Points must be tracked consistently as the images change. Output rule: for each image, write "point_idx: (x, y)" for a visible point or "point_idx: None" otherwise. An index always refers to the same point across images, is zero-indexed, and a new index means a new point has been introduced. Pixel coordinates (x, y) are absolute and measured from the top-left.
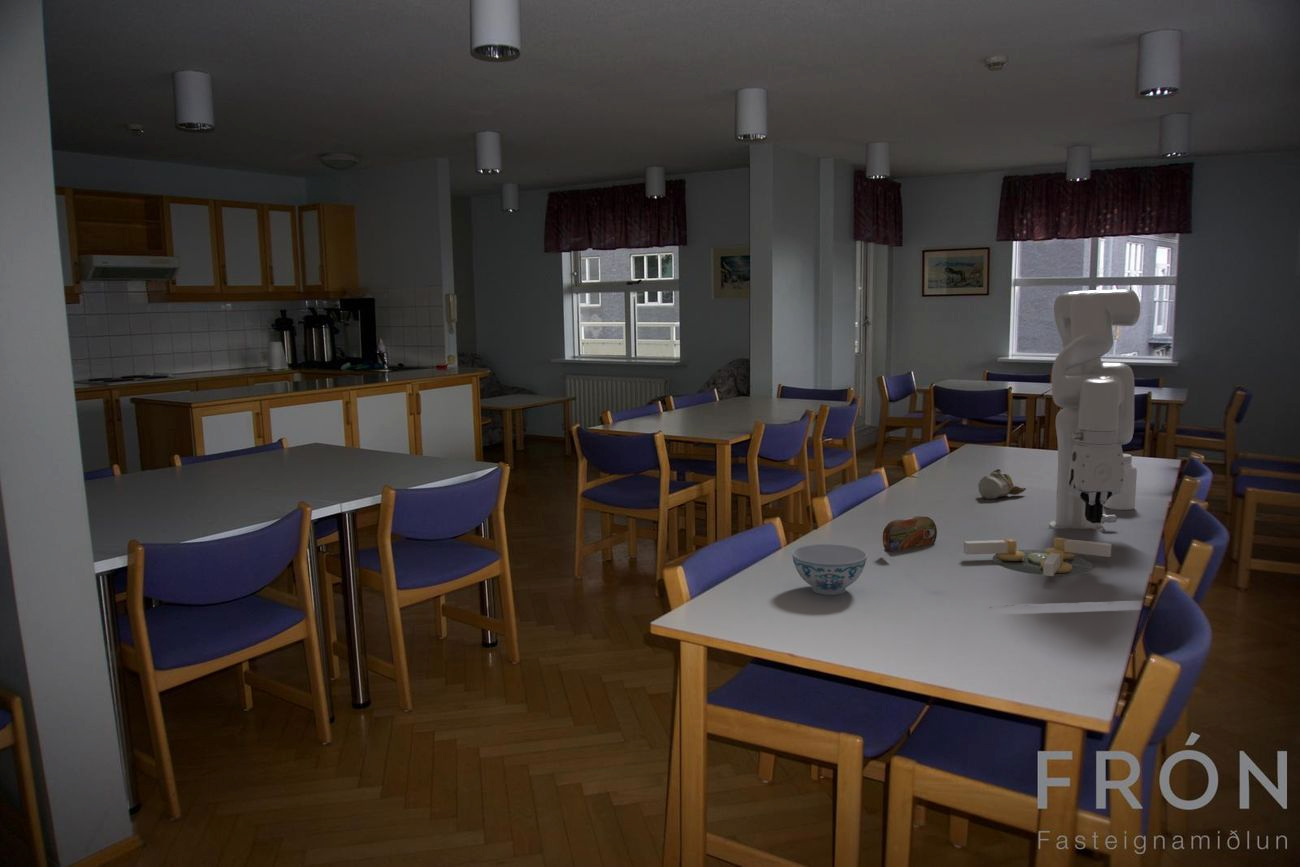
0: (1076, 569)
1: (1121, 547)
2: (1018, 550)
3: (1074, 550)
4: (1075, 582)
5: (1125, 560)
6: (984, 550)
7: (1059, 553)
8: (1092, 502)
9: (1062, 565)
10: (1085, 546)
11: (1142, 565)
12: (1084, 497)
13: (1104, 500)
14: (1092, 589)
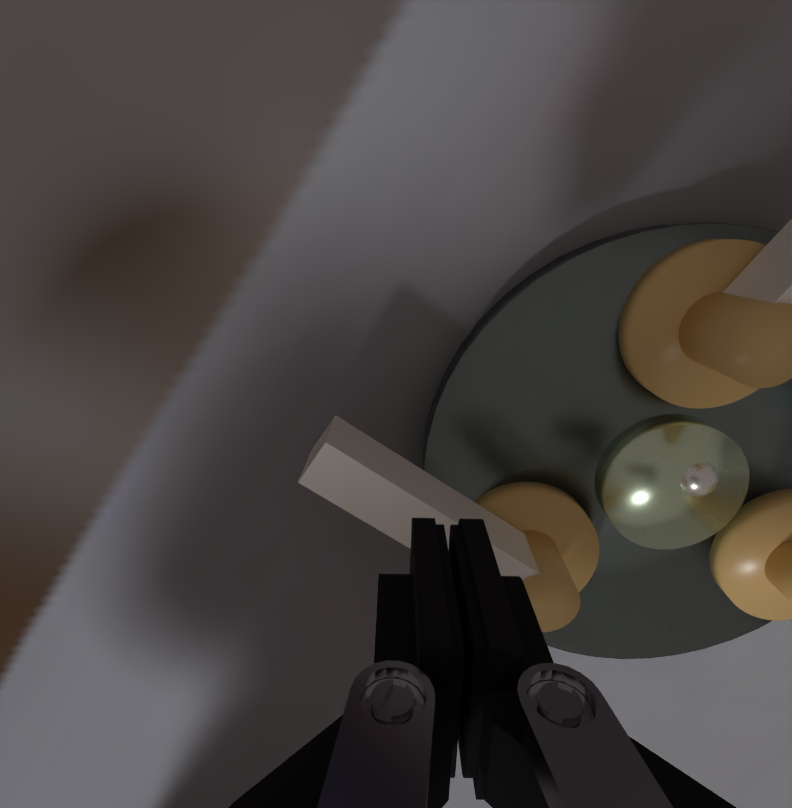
0: (578, 321)
1: (123, 688)
2: (641, 650)
3: (486, 515)
4: (635, 213)
5: (190, 526)
6: None
7: (781, 303)
8: (549, 702)
9: (697, 300)
10: (443, 504)
11: (148, 447)
12: (702, 802)
13: (363, 724)
14: (630, 64)
